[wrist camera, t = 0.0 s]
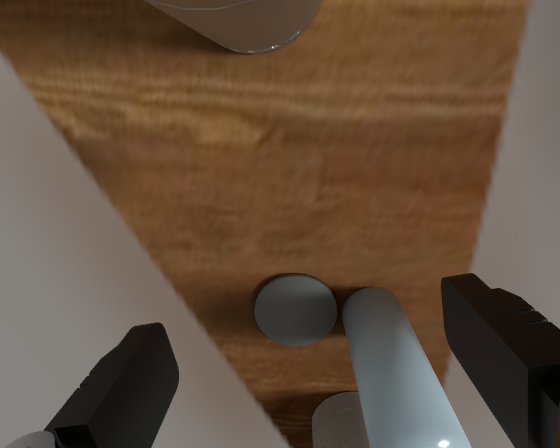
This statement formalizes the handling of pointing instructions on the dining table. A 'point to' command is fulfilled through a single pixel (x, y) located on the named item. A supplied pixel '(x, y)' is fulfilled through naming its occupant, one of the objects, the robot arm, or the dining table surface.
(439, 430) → the tall pale blue cylinder
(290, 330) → the coaster
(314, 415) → the thermos bottle
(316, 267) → the dining table surface
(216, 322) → the dining table surface
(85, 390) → the robot arm
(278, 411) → the dining table surface
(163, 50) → the dining table surface
